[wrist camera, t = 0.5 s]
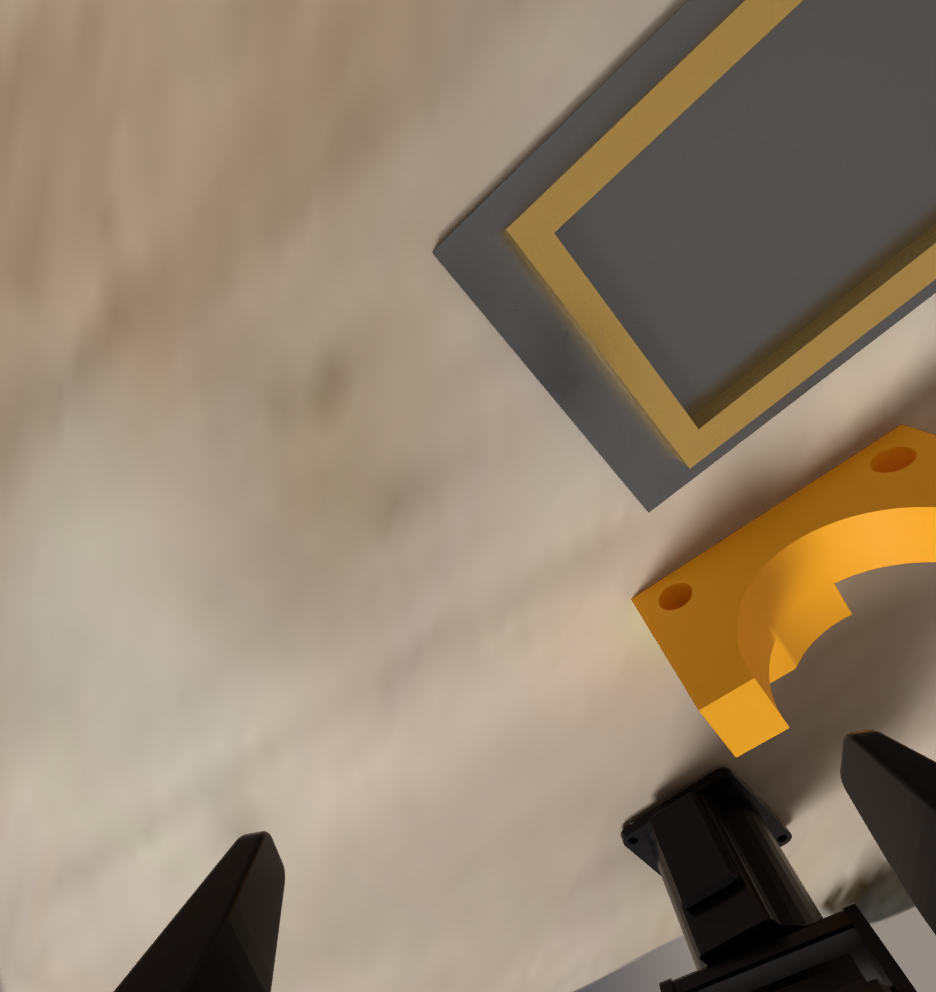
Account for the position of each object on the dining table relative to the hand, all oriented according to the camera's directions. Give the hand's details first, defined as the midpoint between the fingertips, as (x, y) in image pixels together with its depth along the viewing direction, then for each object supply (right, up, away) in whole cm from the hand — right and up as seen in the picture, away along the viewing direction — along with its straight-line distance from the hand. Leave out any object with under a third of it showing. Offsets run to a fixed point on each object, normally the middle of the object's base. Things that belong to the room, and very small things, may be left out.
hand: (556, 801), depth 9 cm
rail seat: (+10, +15, +9) cm, 20 cm away
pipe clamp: (+11, +2, +14) cm, 19 cm away
